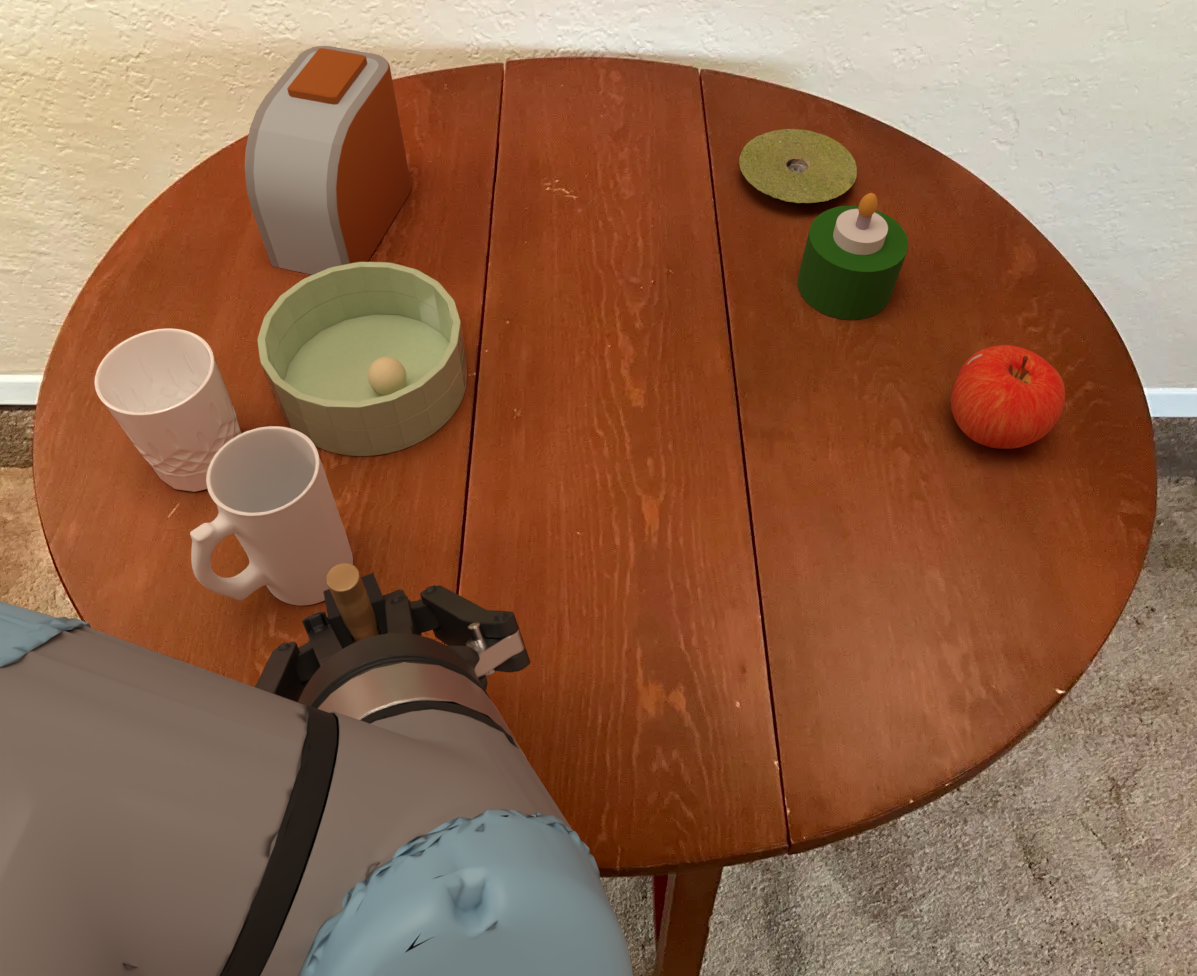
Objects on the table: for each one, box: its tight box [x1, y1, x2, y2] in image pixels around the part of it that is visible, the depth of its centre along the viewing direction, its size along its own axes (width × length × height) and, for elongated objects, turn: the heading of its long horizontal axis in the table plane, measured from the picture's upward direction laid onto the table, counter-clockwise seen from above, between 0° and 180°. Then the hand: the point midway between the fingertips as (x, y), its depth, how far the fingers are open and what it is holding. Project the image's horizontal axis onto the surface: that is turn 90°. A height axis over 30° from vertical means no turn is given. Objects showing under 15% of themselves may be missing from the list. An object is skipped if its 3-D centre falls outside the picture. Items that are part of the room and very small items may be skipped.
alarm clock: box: [244, 45, 412, 276], centre depth 84 cm, size 15×8×14 cm, turn 164°
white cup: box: [94, 327, 243, 493], centre depth 70 cm, size 8×8×10 cm
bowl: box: [256, 261, 468, 457], centre depth 76 cm, size 15×15×6 cm
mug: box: [189, 425, 354, 607], centre depth 63 cm, size 10×7×12 cm, turn 138°
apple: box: [950, 344, 1066, 450], centre depth 73 cm, size 8×8×8 cm
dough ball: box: [368, 357, 406, 395], centre depth 76 cm, size 3×3×3 cm
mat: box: [738, 128, 858, 204], centre depth 93 cm, size 11×11×2 cm
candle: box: [796, 192, 909, 321], centre depth 82 cm, size 8×8×10 cm
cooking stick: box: [326, 563, 381, 643], centre depth 54 cm, size 2×2×18 cm
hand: (356, 602), depth 57 cm, fingers closed on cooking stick, 1 cm apart
